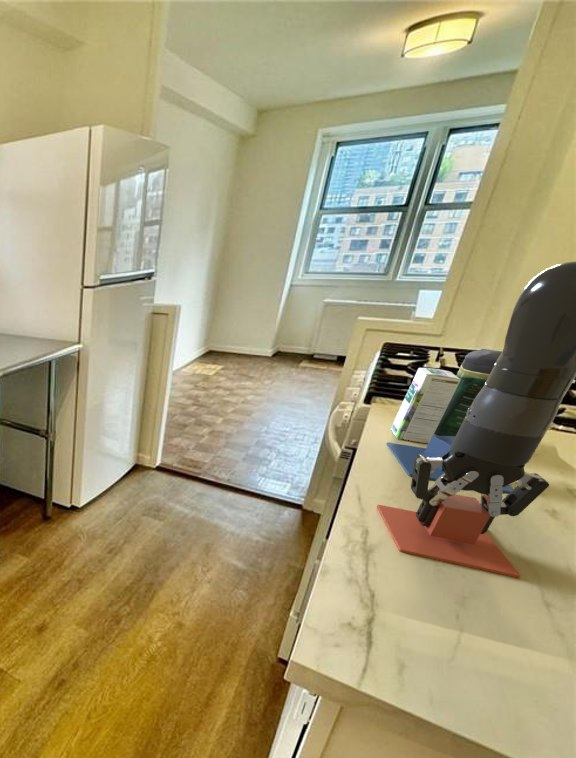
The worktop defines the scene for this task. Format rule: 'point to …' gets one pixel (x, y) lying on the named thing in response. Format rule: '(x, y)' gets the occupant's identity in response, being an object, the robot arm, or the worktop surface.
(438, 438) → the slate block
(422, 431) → the syrup box
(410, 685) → the worktop surface
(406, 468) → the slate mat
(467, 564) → the terracotta mat
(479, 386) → the coffee jar
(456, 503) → the terracotta block
